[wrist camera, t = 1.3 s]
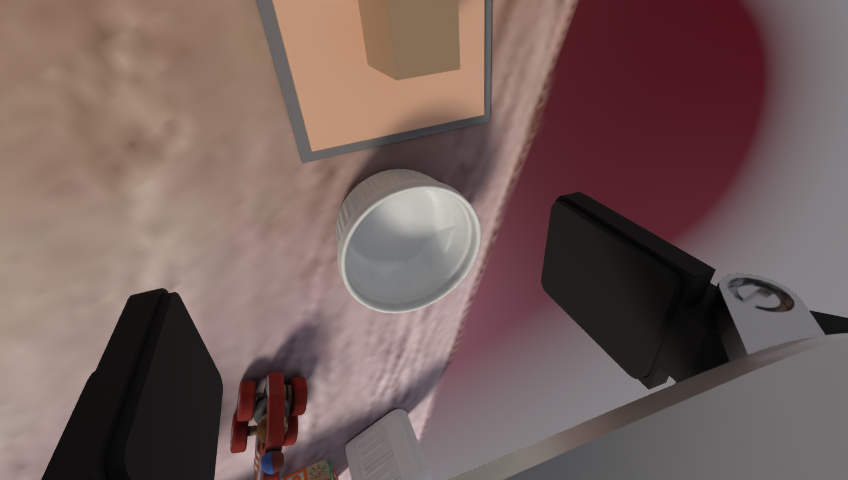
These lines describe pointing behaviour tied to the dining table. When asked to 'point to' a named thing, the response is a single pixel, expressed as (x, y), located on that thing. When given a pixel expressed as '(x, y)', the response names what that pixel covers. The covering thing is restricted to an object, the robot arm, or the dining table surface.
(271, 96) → the dining table surface
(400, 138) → the mat
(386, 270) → the ramekin
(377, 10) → the cover
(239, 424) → the toy fire truck
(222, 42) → the dining table surface
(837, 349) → the robot arm
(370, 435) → the photo printer
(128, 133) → the dining table surface
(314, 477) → the stack of blocks
